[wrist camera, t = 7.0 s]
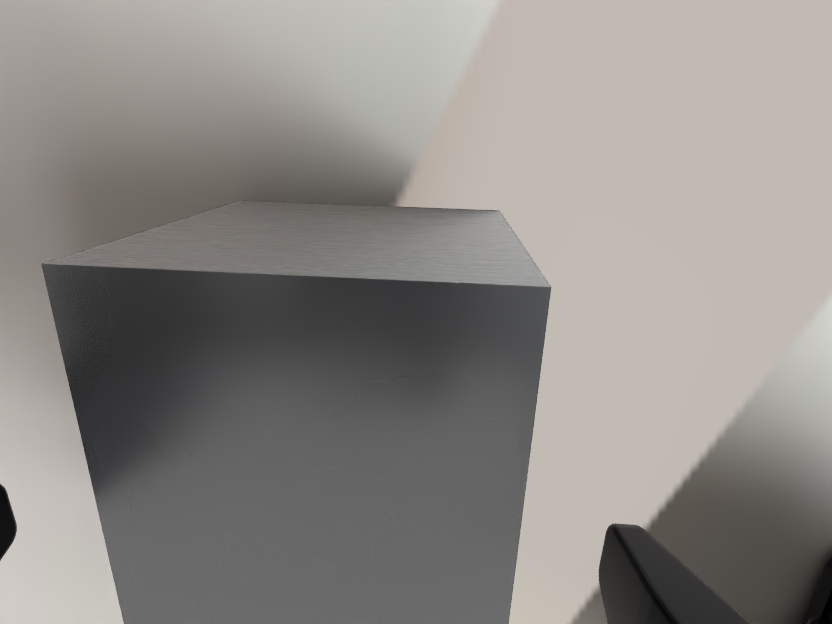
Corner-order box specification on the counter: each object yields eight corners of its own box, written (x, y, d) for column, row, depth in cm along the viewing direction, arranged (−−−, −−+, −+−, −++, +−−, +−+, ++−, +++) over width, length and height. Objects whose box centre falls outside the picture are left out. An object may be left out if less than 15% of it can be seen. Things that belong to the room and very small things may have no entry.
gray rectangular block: (499, 210, 11) (550, 286, 6) (474, 498, 14) (493, 743, 8) (239, 200, 12) (41, 264, 6) (264, 484, 14) (144, 713, 9)
